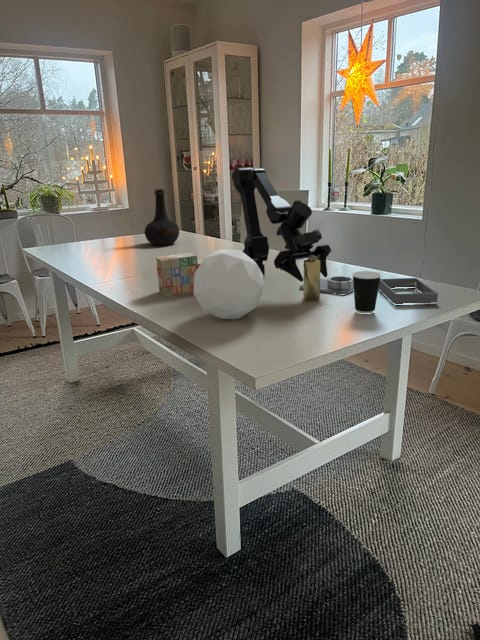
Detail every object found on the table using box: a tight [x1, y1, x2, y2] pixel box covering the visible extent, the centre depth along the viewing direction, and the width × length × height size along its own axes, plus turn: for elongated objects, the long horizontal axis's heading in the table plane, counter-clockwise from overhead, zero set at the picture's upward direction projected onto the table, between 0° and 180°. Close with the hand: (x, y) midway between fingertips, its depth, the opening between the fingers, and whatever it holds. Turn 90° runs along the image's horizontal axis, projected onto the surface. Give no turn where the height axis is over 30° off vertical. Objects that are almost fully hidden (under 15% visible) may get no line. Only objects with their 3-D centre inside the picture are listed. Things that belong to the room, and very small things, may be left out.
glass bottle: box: [144, 188, 180, 246], centre depth 249 cm, size 18×18×28 cm
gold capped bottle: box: [302, 255, 321, 302], centre depth 148 cm, size 5×5×14 cm
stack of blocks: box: [155, 252, 204, 297], centre depth 164 cm, size 21×6×12 cm, turn 114°
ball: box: [193, 249, 264, 320], centre depth 133 cm, size 19×20×20 cm
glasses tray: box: [379, 277, 439, 304], centre depth 148 cm, size 12×18×4 cm
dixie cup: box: [351, 270, 383, 313], centre depth 134 cm, size 8×8×11 cm
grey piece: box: [299, 275, 354, 295], centre depth 161 cm, size 16×12×4 cm
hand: (314, 278), depth 147 cm, fingers open, 9 cm apart
